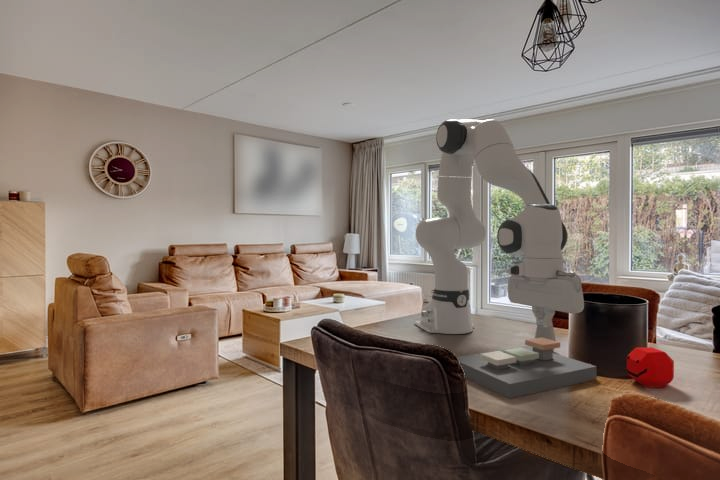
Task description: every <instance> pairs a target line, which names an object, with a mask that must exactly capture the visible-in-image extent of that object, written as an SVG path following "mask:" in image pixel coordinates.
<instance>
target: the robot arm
mask: <svg viewBox="0 0 720 480" xmlns="http://www.w3.org/2000/svg"><path fill="white" fill-rule="evenodd" d="M435 137H436V140H435V141H436V145H437V147H438V149H439V151H441V152H442V153H441V156H440V157H441V158H440V161H439V169H438V177H437V178H438V179H437V193H436V194H437V195H436V196H437V199H438V202H440V204H441V205H443V206H445V207H446V209H447V210H448V216H449V217H430V218H426V219H423V220H421V221H419V222H418V225H417V226H416V230H415V238H416V242H417V244H418V245H419V246H420V247H421V248H423V249H424V251H426V252H427V254H428V255H429V257H430V259H431V261H432V265H433V271H434V289H431V290H430V291H431V292H430V293H431V294H432V295H431V300H430V301H428V303H426V304H425V305H424V306H423V307H422V308H421V313H420V319H417V320H415V321H414V325H415V326H417V327H419V328H421V329H422V330H424V331H425V332H427V333H431V334H445V335H461V334H469V333H471V332H473V331H474V328H475V324H474V323H473V320H472V319H473V318H472V310H471V304H470V303H469V300H470V290H469V287H468V283H469V282H468V279H469V278H468V271H469V270H468V267H467V265H466V264H465V263H464V262H463V261H461V260H459V259H458V258H457V256H456V254H455V250H463V249H464V250H465V249H466V250H468V249H471V248H476V247H479V246H481V245H482V244H483V243H484V241H485V238H486V235H487V232H486V227H485V225H484V223H483V222H482V221H481V219H480V218H479V217H478V216H477V215H476V214H475V212H474V209H473V205H472V199H471V198H472V178H473V177H472V176H473V163H474V161H475V163H476V168H477V170H478V173H479V175H480V176H481V178H482V179H483V180H484V181H485V182H487V183H488V184H490V185H493V186H495V187H498V188H500V189H504V190H507V191H509V192H512V193H513V194H515V195H517V196H518V197H519V198H520V199H521V200H522V201H523V203H524V205H525V206H524V207H523V210H522V212H520V213H519V214H517V215H516V216H514V217H511V218H509V219H506V220H503V222H502V223H501V224H500V226H499V227H498V230H497V232H496V233H497V234H496V235H497V236H496V237H497V238H496V239H497V244H498V246H499V247H500V250H502V251H503V252H504V253H505V254H508V255H512V256H513V255H514V256H515V255H517V256H521V255H523V260H522V262H519V263H516V264H513V265H509V266H508V268H507V270H508V271H507V274H508V275H510V276H509V278H508V281H507V298H508V300H509V302H510V303H512V304H517V305H522V306H523V305H524V306H528V307H531V312H532V313H533V315H534V317H535V323H536V326H537V325H538V326H543V327H550V326H551V319H552V320H553V317H554V316H555V314H556V311H557V312H561V313H566V314H578V313H581V312H583V310H585V309H584V308H585V301H584V300H585V299H584V293H583V288H582V278H581V277H580V276H579V275H578V274H576V272H574V271H564V269H563V268H564V259H563V252H562V251H563V249H564V248H565V246H566V245H567V242H568V237H569V236H568V235H569V234H568V230H567V228H566V227H567V226H566V225H565V224H564V222H562V215H561V212H560V209H559V207H558V206H556V205H554V204H551V203H550V201H549V199H548V197H547V195H546V193H545V191H544V190H543V187H542V186H541V184H540V182H539V180H538V179H537V177H536V176H535V174H534V172H532V170H531V169H529V168H528V167H527V166H526V165H525V164H524V163H523V161H522V160H521V159H520V157H519V155H518V154H517V152H516V150H515V147H514V144H513V141H512V139H511V138H510V135H509V133H508V131H507V130H506V128H505V126H504V125H503V123H502V122H500V121H499V120H497V119H485V120H481V119H456V118H454V119H448V120H444V121H443V122H442V123H441V124H440V125H439V126H438V129H437V131H436V136H435ZM543 308H544V313H546V315H545V317H544V318H543V315H542V312H541V311H542V310H543Z"/></svg>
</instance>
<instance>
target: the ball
mask: <svg viewBox="0 0 720 480" xmlns="http://www.w3.org/2000/svg"><path fill="white" fill-rule="evenodd" d="M626 374H628V375H629V376H630V378H632V379H633V381H634V382H636V383H638V384H641V385H643V386H644V387H647V388H666V386H667V385H669V384H670V383H671V382H673V380H674V378H675V376H674V375H675V361H674V360H673V358H671V356H669V354H668V353H667V352H665V351H663V350H660V349H657V348H654V347H653V346H651V347H650V346H648V347H647V346H645V347H635V348H634V349H633V350H631V352H630V353H629V354H628V355H627V357H626Z"/></svg>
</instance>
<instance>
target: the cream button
mask: <svg viewBox="0 0 720 480" xmlns="http://www.w3.org/2000/svg"><path fill="white" fill-rule="evenodd" d="M494 351H495V352H492V351H488V352H489V353H486V352H482V353H483V354H480V359H482V360H484V361H487V362H488V366H489V367H492V368H494V369H497V370H500V369H505V368H508V364H510V363H515V362H516V357H515V356H512V355H509V354H506V353H503V352H501V351H498V350H494Z"/></svg>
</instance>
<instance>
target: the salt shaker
mask: <svg viewBox="0 0 720 480" xmlns="http://www.w3.org/2000/svg"><path fill="white" fill-rule="evenodd" d="M541 312H542V315H543V318H544V317H545V315H546V313H544V308H543V310H542V311H541ZM541 337H542V338H546V339H549V340H553V341H557V340H556V335H555V329H554V324H553V318H552V319H551V326H550V327H543V326H538V325H536V330H535V334H534V338H541ZM555 349H556V348H554V349H553V352H554V351H555Z"/></svg>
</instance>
